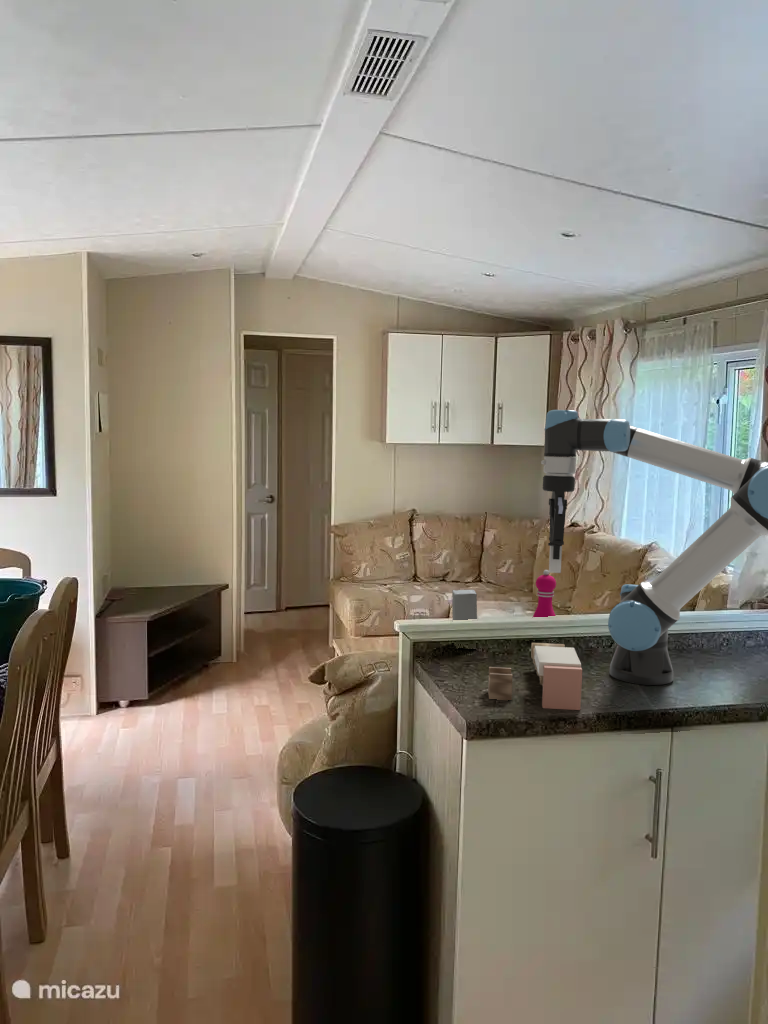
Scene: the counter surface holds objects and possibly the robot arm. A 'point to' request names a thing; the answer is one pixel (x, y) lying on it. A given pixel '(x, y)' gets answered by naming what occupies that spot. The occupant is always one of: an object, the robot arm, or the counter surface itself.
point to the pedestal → (500, 683)
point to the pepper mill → (545, 595)
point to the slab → (555, 657)
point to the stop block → (562, 687)
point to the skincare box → (464, 604)
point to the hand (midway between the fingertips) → (554, 572)
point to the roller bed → (542, 645)
